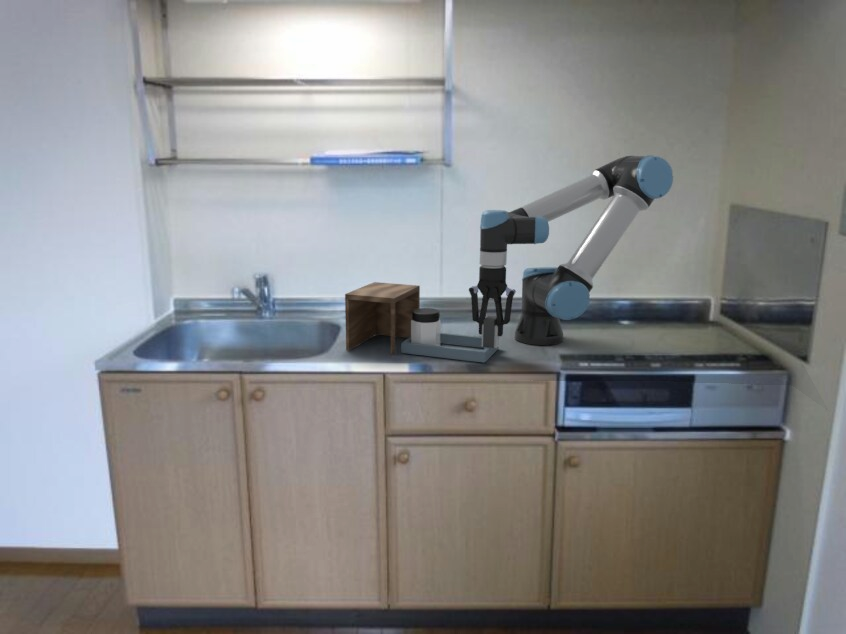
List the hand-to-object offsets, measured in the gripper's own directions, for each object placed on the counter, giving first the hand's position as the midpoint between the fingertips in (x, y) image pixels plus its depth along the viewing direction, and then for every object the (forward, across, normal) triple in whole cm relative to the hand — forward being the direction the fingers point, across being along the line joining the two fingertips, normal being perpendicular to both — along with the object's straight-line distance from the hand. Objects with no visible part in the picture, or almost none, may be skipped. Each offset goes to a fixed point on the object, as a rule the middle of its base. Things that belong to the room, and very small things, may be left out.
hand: (490, 345), depth 194 cm
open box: (+3, +33, 0) cm, 33 cm away
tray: (+3, +12, 0) cm, 12 cm away
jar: (+3, +20, +1) cm, 20 cm away
